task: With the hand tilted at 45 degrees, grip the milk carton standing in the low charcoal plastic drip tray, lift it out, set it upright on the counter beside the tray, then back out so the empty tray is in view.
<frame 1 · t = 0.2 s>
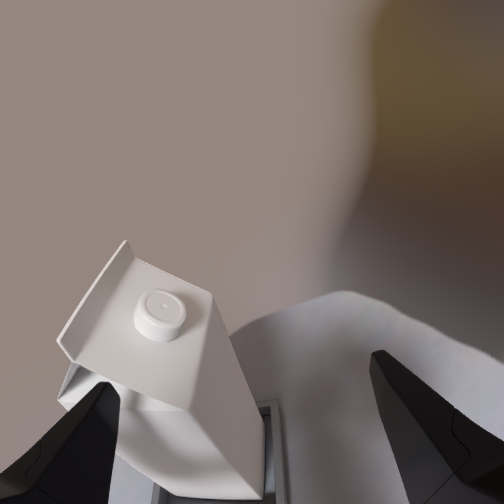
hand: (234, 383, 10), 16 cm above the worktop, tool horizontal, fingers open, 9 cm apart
milk carton: (222, 463, 22), resting in drip tray
drip tray: (221, 463, 21), on the worktop
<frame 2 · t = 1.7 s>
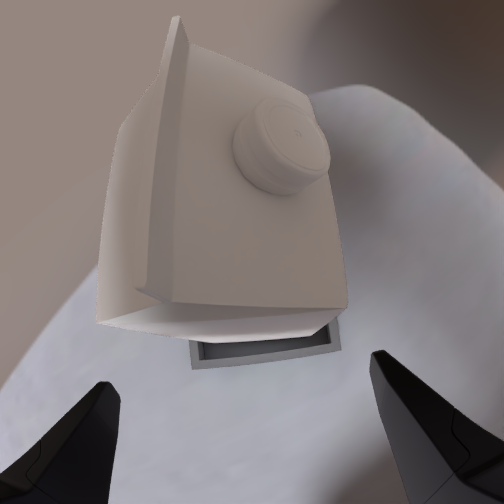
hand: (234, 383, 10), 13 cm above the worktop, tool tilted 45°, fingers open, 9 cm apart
milk carton: (259, 292, 23), resting in drip tray
drip tray: (258, 292, 23), on the worktop
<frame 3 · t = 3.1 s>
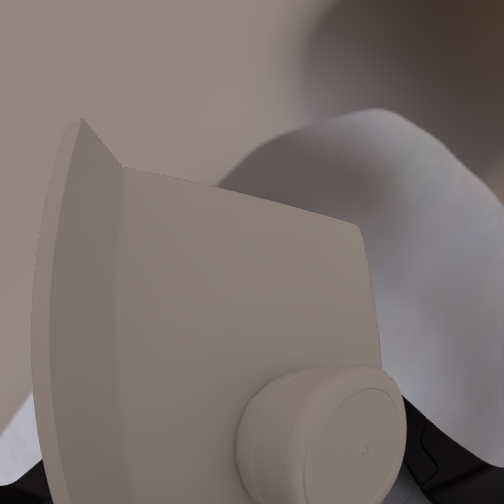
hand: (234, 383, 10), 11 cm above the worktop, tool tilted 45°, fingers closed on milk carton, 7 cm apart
milk carton: (263, 372, 20), resting in drip tray, touching gripper
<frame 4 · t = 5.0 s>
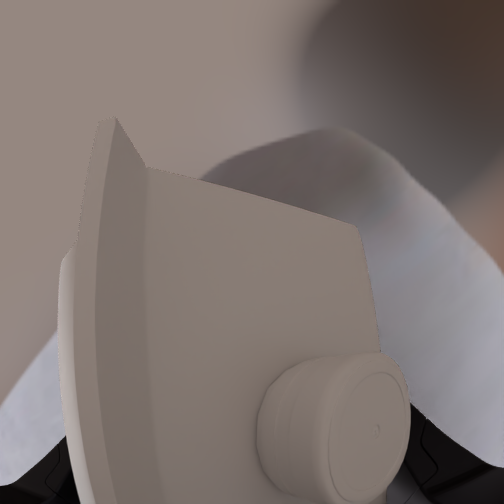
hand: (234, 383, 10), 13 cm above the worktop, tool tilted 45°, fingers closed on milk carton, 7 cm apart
milk carton: (254, 372, 20), point 2 cm above the worktop, touching gripper
when the fingers open (12 cm above the worktop, at t = 6.7 s): milk carton stays where it is, on the worktop.
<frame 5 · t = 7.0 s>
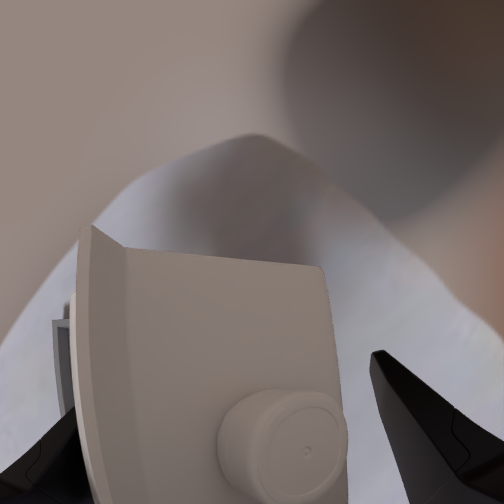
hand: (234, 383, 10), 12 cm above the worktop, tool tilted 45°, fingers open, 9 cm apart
milk carton: (257, 377, 21), on the worktop
drip tray: (113, 380, 22), on the worktop
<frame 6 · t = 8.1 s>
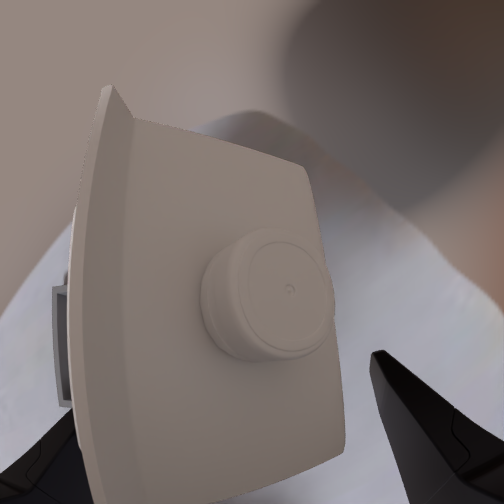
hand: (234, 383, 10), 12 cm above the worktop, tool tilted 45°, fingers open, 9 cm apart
milk carton: (253, 339, 22), on the worktop
drip tray: (110, 346, 22), on the worktop
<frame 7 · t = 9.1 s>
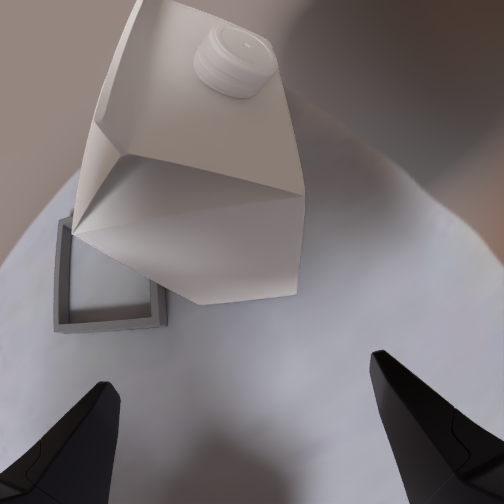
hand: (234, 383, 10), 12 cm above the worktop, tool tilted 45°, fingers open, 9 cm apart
milk carton: (243, 254, 24), on the worktop
drip tray: (108, 270, 24), on the worktop
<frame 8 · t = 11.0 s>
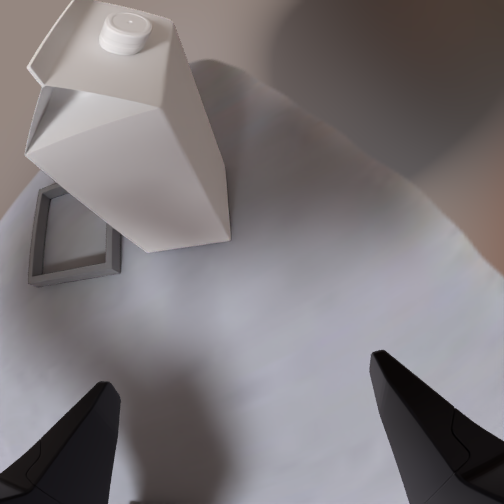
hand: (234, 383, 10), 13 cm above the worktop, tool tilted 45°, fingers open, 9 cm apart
milk carton: (187, 209, 26), on the worktop
drip tray: (77, 229, 27), on the worktop
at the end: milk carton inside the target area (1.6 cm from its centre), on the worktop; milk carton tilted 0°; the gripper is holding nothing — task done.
